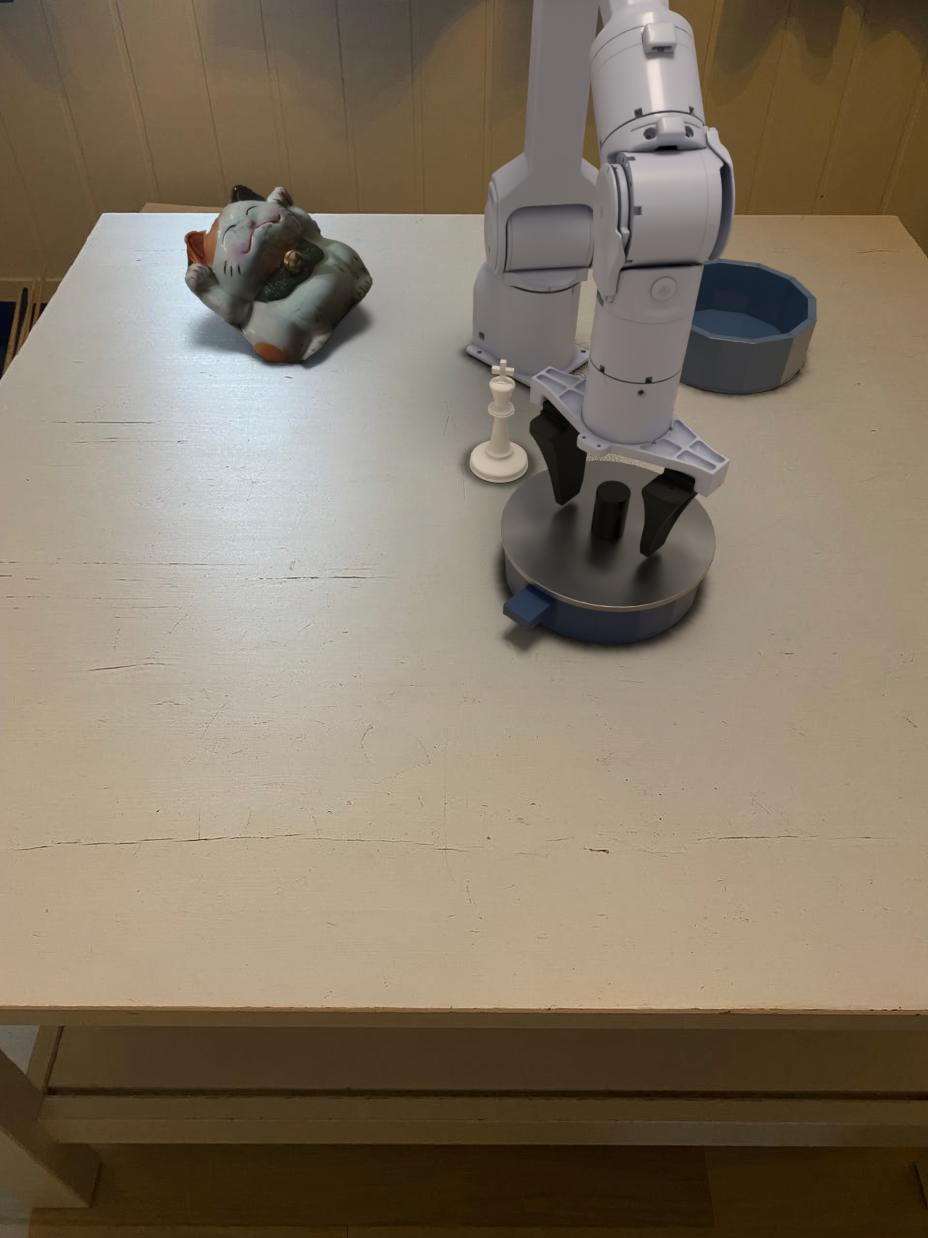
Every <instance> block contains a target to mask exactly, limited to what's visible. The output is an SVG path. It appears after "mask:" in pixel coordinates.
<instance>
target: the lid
mask: <svg viewBox="0 0 928 1238" xmlns="http://www.w3.org/2000/svg"><path fill="white" fill-rule="evenodd" d="M659 474H660V475H661V474H662V473H659V472H657V471H654V470H652V469H649V468H646V467H643V466H639V465H636V464H631V463H627V462H622V461H613V460H586V465H585V472H584V479H583V483H582V487H581V490H580V493H579V494H578V495H576V496H575V497H574V498H572V499H571V500H570V501H568V502H567V503H566V504H564V505H563V506H561V505H559V504H558V503H556V501H555V497H554V492H553V487H552V483H551V479H550V475H549V471H548V468H547V469H545V470H543V471H540V472H538V473H536V474H534V475H533V476H532V477H530V478H528V479H526V480H525V481H524V482H523V483H522V484H520V485H519V486H518V487H517V489H516V490H515V491H513V493H512V494H511V495H510V497H509V498H508V500H507V501H506V504H505V506H504V508H503V511H502V515H501V520H500V538H501V544H502V547H503V549H504V553H505V552H506V554H507V556H508V558H509V560H510V562H511V563H512V565H513V566H514V567H515V568H516V570H517V571H518V572H519V573H520V574H521V575H522V576H523V577H524V578H525V579H526V580H527V581H528V582H530V583H531V584H532V585H534V586H535V587H536V588H538V589H539V590H541V591H543V592H544V593H546V594H548V595H549V596H551V597H554V598H556V599H558V600H560V601H563V602H565V603H568V604H571V605H574V606H578V607H582V608H586V609H591V610H598V611H606V612H631V611H640V610H646V609H651V608H655V607H658V606H662V605H665V604H667V603H670V602H672V601H674V600H676V599H678V598H680V597H682V596H683V595H685V594H687V593H688V592H689V591H691V590H692V589H693V588H694V587H696V586H697V585H698V586H699V584H700V582H702V580H704V578H705V576H706V575H707V573H708V571H709V570H710V568H711V565H712V563H713V560H714V557H715V553H716V548H717V547H716V542H717V541H716V539H717V538H716V533H715V529H714V528H715V527H714V524H713V522H712V519H711V516H709V513H708V512H707V510H706V509H705V507H704V506H703V505H702V504H701V502H700V501H699V500H698V499H697V497H695V498H694V499H693V500H692V501H691V502H690V503H689V504H688V506H687V507H686V508H685V509H684V511H683V512H682V513H681V515H680V516H679V518H678V519H677V521H676V522H675V524H674V526H673V527H672V529H671V531H670V533H669V535H668V537H667V539H666V541H665V543H664V545H663V546H662V547H660V548H659V549H658V550H657V551H656V552H655V553H653V554H652V555H651V556H650V557H646V556H644V555H642V554H641V553H640V541H641V536H642V531H643V527H644V502H643V497H642V494H641V491H642V488H643V487H644V486H645V485H647V484H648V483H649V482H650V481H652V480H653V479H654V478H656V477H657V476H658V475H659ZM698 583H699V584H698Z"/></svg>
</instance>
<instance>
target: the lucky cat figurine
mask: <svg viewBox="0 0 928 1238" xmlns="http://www.w3.org/2000/svg"><path fill="white" fill-rule="evenodd" d="M321 232H322V231H321V229H320V227H319V225H318V223H317V220H315V219H313V218H312V217H311V215H310V214H309V213H308V212H307V211H305V210H304V209H303V208H301V207H300V206H298V205H296V204H295V202H294V200H293V198H292V195H291V194H290V193H289V191H288V190H287V189H286V188H285V187H282V186H276V187H274V190H273V191H272V192H271V193H270V194H269V195H268V196H267V197H264V196H263V195H261V194H258V193H257V192H256V191H253V189H251V188H249V187H247V186H246V185H243V184H236V185H234V186H232V187H231V191H230V197H229V198H228V203H227V205H226V206H224V207H223V208H222V209H221V211H220V212H219V213H218V215H217V217H216V218H215V219H214V221H213V223H212V224H211V227H210V229H209V231H208V232H207V229H204V230H200V231H197V230H191V231H189V232H187V233H186V234H185V235H184V239H183V242H184V243H185V245H186V257H187V268H186V272H185V275H184V282H185V284H186V286H187V287H188V289H189V290H190V292H191V293H192V294H193V295H195V296H196V297H197V298H198V299H199V300H200V301H201V303H202V304H203V305H204V306H206V307H207V308H208V309H209V310H211V311H213V312H214V313H215V314H216V315H217V316H218V317H219V318H220V319H222V320H223V321H224V323H227V324H228V325H229V326H231V327H232V328H233V329H235V330H236V331H237V332H238V333H239V334H240V335H241V336H243V337H244V339H246V341H248V342H249V343H250V344H251V346H252V348H253V351H254V352H255V353H256V354H257V355H259V356H260V357H261V358H263V359H264V360H266V361H269V362H276V363H277V362H278V363H292V364H293V363H294V364H295V363H296V364H298V363H300V362H301V360H303V361H306V360H307V359H308V358H309V357H310V356H312V355H313V354H315V353H317V352H318V351H319V350H320V349H321V348H322V347H324V345H325V343H327V341H328V340H329V338H330V336H331V335H332V333H333V332H334V331H335V330H336V328H338V326H339V325H340V324H341V323H342V322H343V321H344V319H345V318H346V317H348V315H349V314H350V313H351V312H352V311H353V310H355V308H356V307H357V306H358V305H359V304H360V303H361V302H362V301H363V300H364V299H365V298H366V297H367V294H368V293H369V292H370V290H371V288H372V286H373V284H374V279H373V277H372V276H371V273H370V271H369V269H368V268H367V266H366V265H365V263H364V261H363V260H362V258H361V256H360V255H359V253H358V252H357V251H356V250H355V249H354V248H353V247H351V245H348V244H346V243H345V242H342V241H339V240H336V239H332V238H327V237H324V236H323V235H322V233H321Z"/></svg>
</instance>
